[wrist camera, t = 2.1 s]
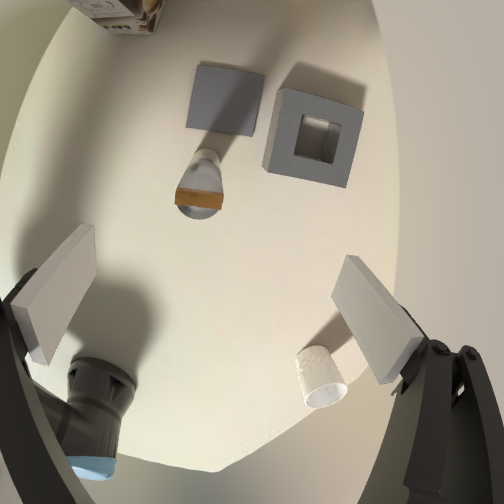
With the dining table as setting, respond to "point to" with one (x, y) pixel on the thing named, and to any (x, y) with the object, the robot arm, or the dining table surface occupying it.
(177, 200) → the grey long rod
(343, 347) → the dining table surface
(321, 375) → the white cup
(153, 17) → the coffee box
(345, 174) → the block
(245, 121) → the mat
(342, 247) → the dining table surface
